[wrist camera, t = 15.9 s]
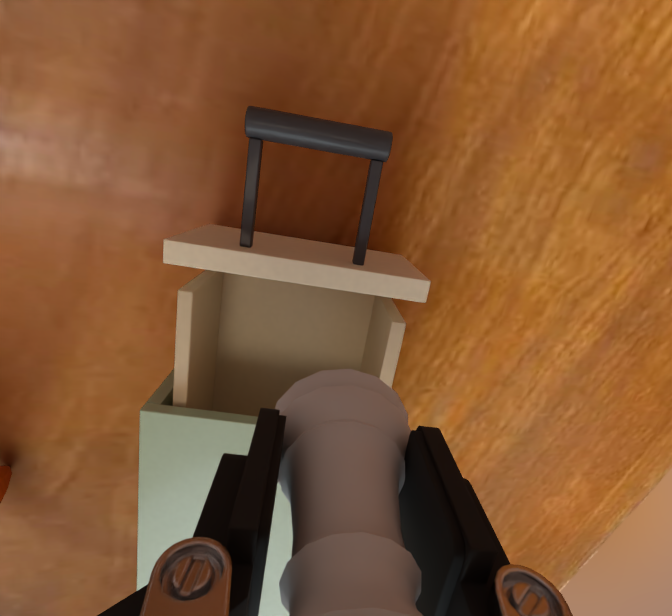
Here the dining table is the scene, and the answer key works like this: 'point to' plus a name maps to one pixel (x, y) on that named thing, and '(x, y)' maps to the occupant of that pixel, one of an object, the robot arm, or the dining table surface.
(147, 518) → the cabinet
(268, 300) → the drawer
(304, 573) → the rook chess piece
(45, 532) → the dining table surface
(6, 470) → the carrot
